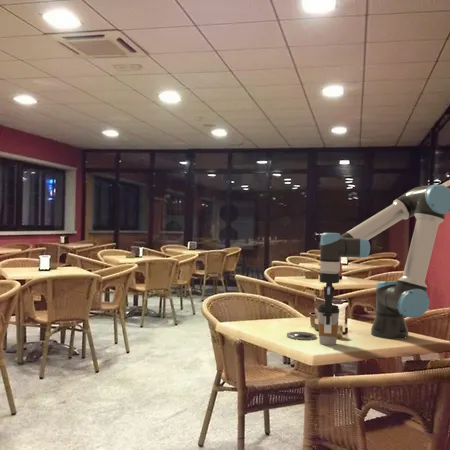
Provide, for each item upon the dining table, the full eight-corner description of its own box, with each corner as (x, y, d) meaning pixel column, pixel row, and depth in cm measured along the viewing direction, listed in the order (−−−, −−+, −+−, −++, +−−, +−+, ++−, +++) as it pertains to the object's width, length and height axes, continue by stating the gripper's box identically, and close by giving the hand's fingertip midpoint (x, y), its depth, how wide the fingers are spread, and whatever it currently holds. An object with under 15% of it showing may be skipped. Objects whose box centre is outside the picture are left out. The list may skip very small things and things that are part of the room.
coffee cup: (338, 347, 200) (339, 308, 200) (316, 346, 202) (317, 306, 202) (338, 342, 209) (339, 304, 209) (317, 341, 210) (318, 303, 210)
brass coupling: (342, 336, 220) (342, 324, 220) (342, 339, 215) (342, 327, 215) (330, 336, 221) (330, 324, 221) (329, 338, 216) (330, 326, 216)
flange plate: (316, 335, 222) (316, 332, 222) (315, 341, 210) (315, 338, 210) (288, 333, 225) (288, 330, 225) (285, 339, 213) (285, 336, 213)
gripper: (320, 269, 216) (319, 325, 216) (318, 274, 196) (316, 335, 196) (339, 270, 215) (338, 326, 215) (339, 275, 194) (337, 336, 194)
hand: (328, 330), depth 205 cm, fingers closed on coffee cup, 8 cm apart
